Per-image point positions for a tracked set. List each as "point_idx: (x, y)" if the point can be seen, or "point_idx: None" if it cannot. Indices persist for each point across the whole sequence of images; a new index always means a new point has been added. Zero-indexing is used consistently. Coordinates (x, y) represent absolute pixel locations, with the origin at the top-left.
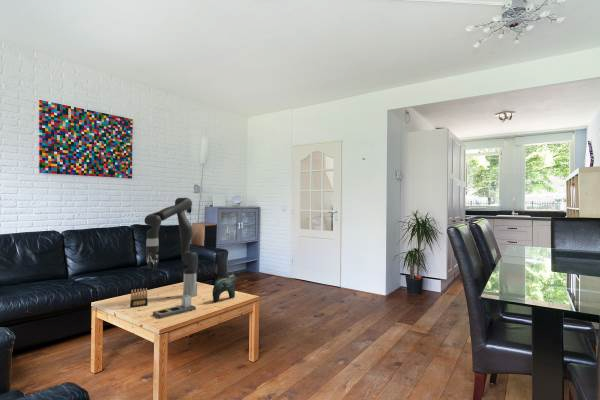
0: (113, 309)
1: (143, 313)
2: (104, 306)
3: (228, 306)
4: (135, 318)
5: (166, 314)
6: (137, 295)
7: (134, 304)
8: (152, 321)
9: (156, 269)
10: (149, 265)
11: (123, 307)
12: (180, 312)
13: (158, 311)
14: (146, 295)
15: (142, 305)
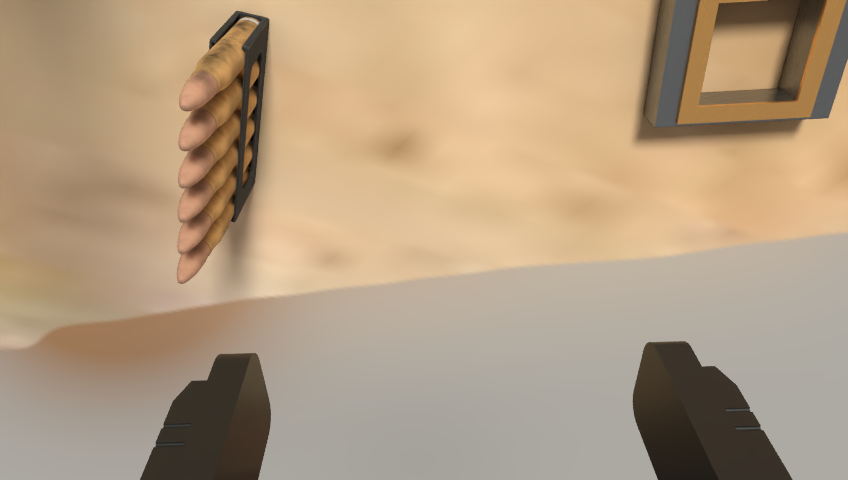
0: (224, 296)
1: (529, 160)
2: (82, 320)
3: None
4: (609, 253)
5: (843, 51)
6: (224, 182)
7: (248, 162)
8: (806, 187)
9: (714, 372)
10: (240, 472)
11: None
12: None
13: (701, 83)
14: (235, 72)
15: (262, 77)
